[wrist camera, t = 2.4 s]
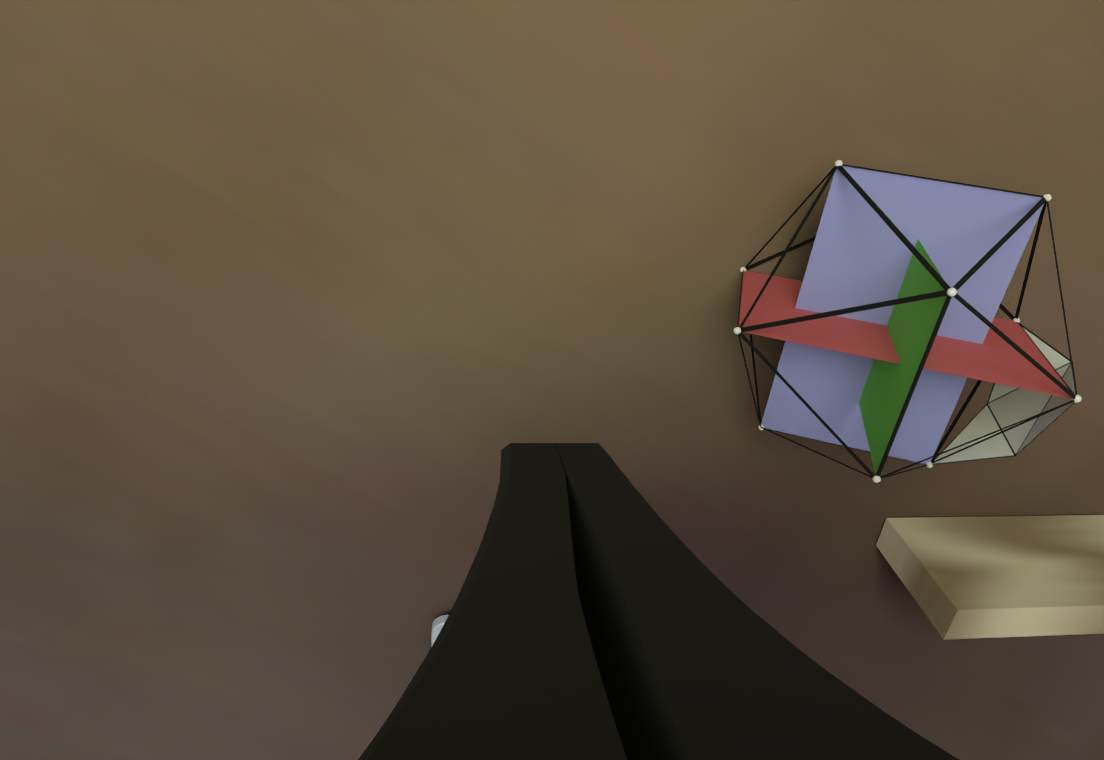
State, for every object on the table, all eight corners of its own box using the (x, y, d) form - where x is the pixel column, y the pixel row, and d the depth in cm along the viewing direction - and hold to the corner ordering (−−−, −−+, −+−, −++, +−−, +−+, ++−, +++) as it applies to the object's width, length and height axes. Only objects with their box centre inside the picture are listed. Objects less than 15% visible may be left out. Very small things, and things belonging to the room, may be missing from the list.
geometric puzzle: (630, 420, 19) (947, 610, 14) (683, 143, 15) (1125, 268, 10) (778, 351, 23) (1055, 477, 18) (843, 128, 20) (1201, 209, 15)
